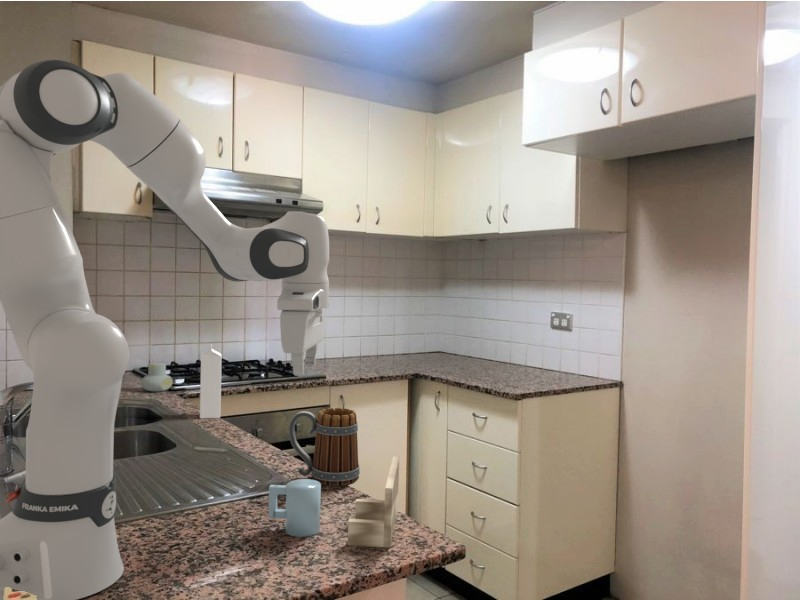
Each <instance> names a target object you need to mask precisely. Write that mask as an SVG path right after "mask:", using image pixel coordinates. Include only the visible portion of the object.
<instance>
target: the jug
mask: <svg viewBox="0 0 800 600" xmlns="http://www.w3.org/2000/svg"><path fill="white" fill-rule="evenodd" d="M278 495H285V508H278ZM321 496H322V485H321V483H320V482H318V481H316V480H313V479H310V478H299V479H294V480H291V481H288V482H287V483H286V485H283V484H270V485H269V487H268V516H267V517H268V519H284V521H285V525H284V527H285V529H284V531H285V533H286V534H287V535H289V536H291V537H297V538H303V537H310V536H314V535H316V534H318V533H319V532H320V530H321V527H320V526H321Z"/></svg>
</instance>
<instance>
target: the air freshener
mask: <svg viewBox="0 0 800 600" xmlns="http://www.w3.org/2000/svg"><path fill="white" fill-rule="evenodd" d="M147 368H148V372H147V375H145V376H144V377H142V379H141V380H140V386H141V387H142V388H143V390H146V391H147V392H153V393H154V392H155V393H161V392H165V391H167V390H169V389H170V388H171V387H172V385H173V383H174V382H173V378H172V377H171V376H170V375H168V374H167V373H166V371H167V370H166V369H167V364H166V363H165V362H160V361H159V362H158V361H157V362H155V361H154V362H150V363H148V367H147Z"/></svg>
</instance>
